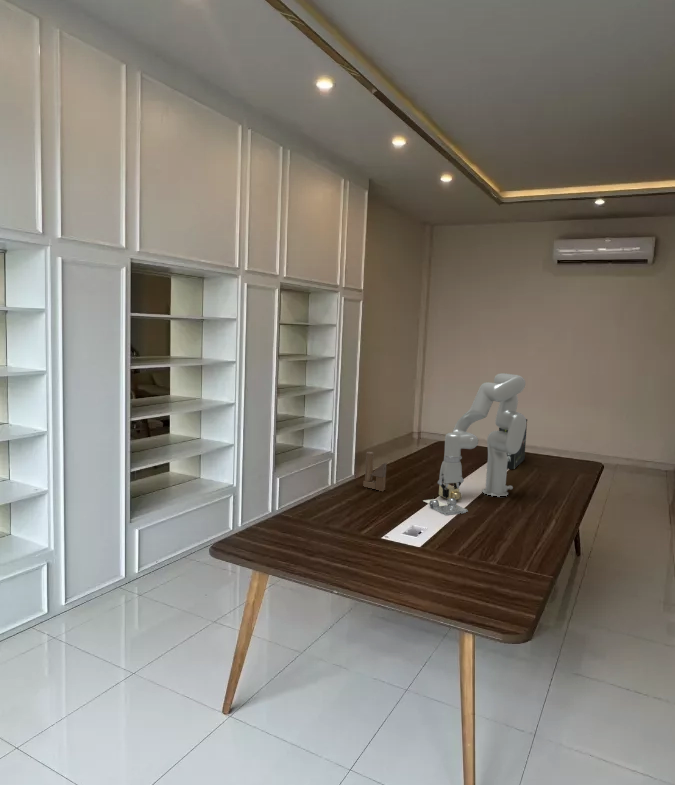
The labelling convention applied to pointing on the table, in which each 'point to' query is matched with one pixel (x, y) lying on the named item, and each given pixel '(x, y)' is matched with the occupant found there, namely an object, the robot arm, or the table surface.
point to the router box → (517, 457)
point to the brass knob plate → (451, 492)
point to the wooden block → (374, 474)
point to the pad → (438, 501)
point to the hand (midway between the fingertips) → (449, 496)
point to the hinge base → (447, 507)
